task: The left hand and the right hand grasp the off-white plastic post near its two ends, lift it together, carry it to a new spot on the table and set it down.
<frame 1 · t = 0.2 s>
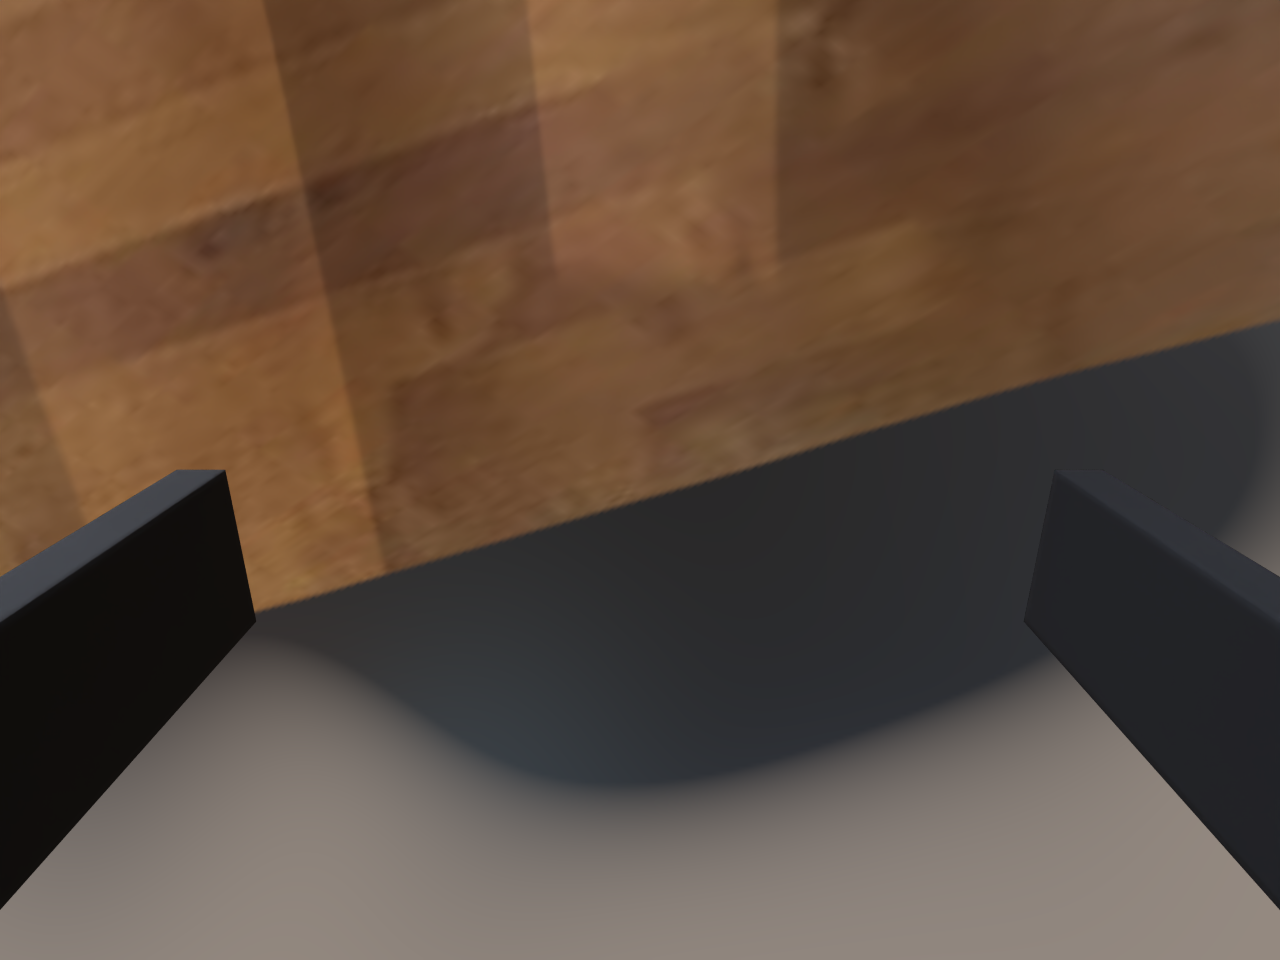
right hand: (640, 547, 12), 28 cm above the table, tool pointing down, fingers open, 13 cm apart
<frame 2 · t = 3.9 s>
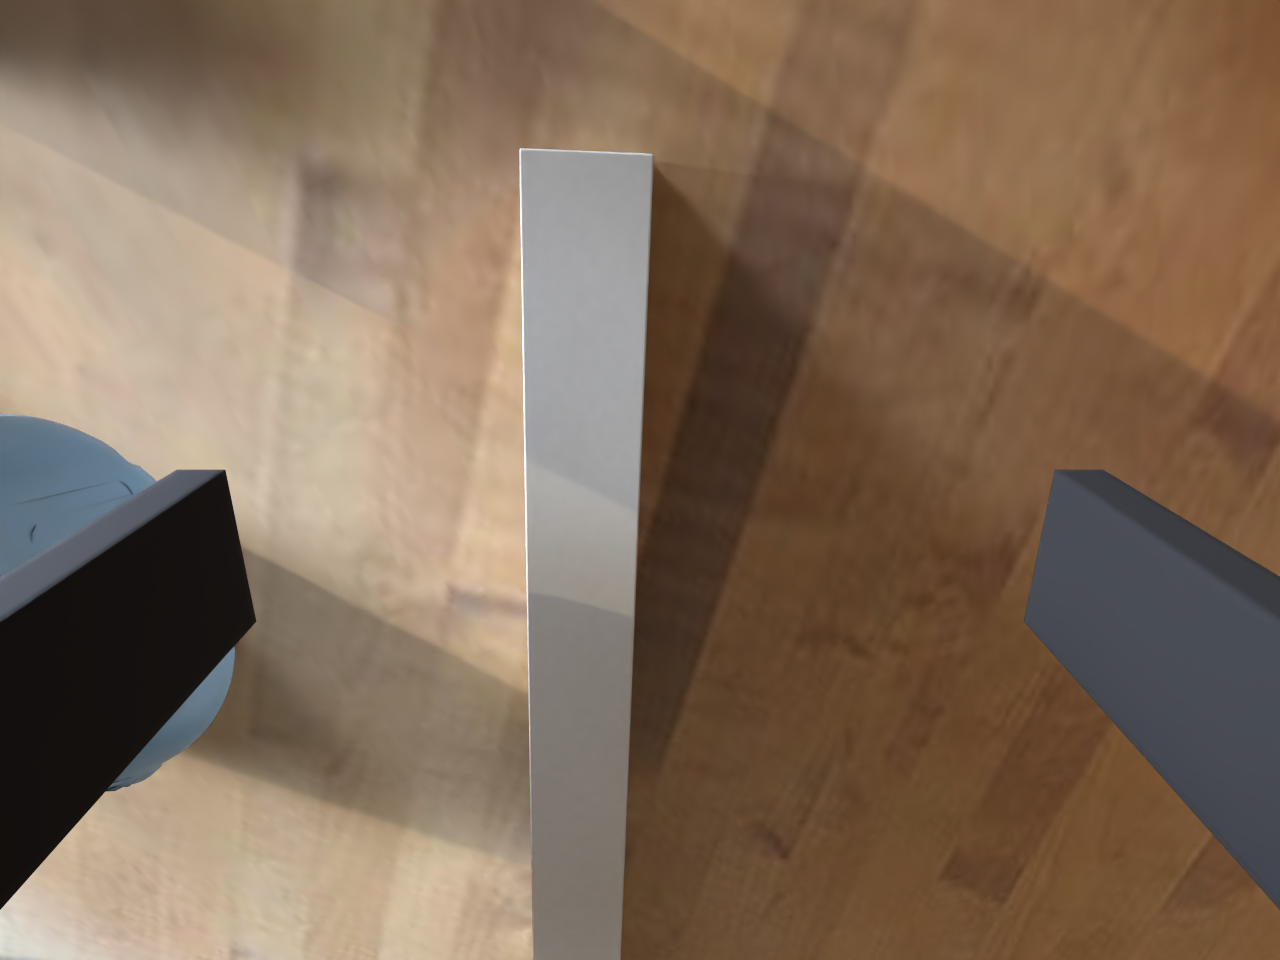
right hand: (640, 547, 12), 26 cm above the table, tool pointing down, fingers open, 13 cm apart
post: (590, 695, 44), on the table
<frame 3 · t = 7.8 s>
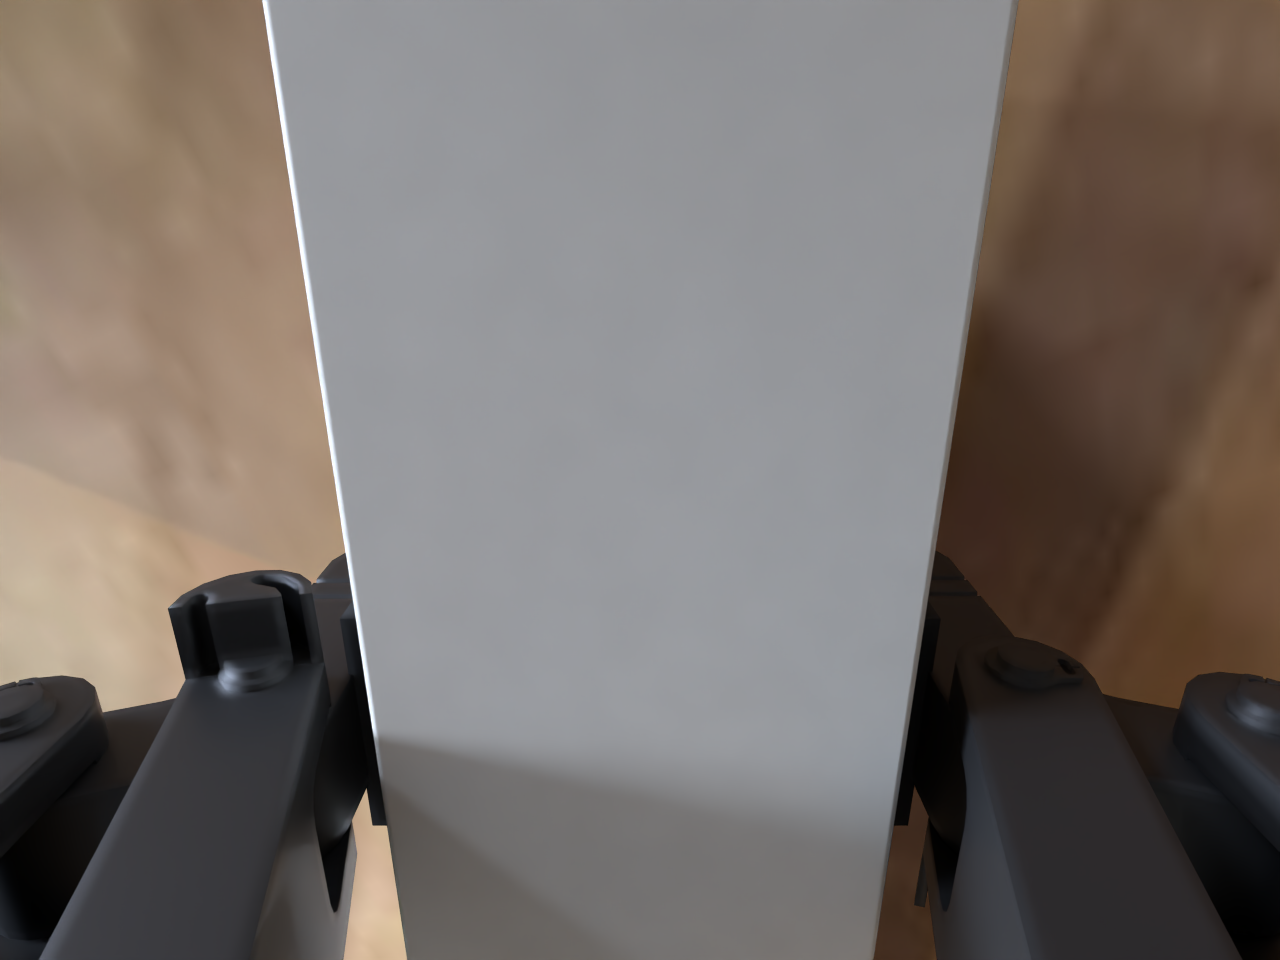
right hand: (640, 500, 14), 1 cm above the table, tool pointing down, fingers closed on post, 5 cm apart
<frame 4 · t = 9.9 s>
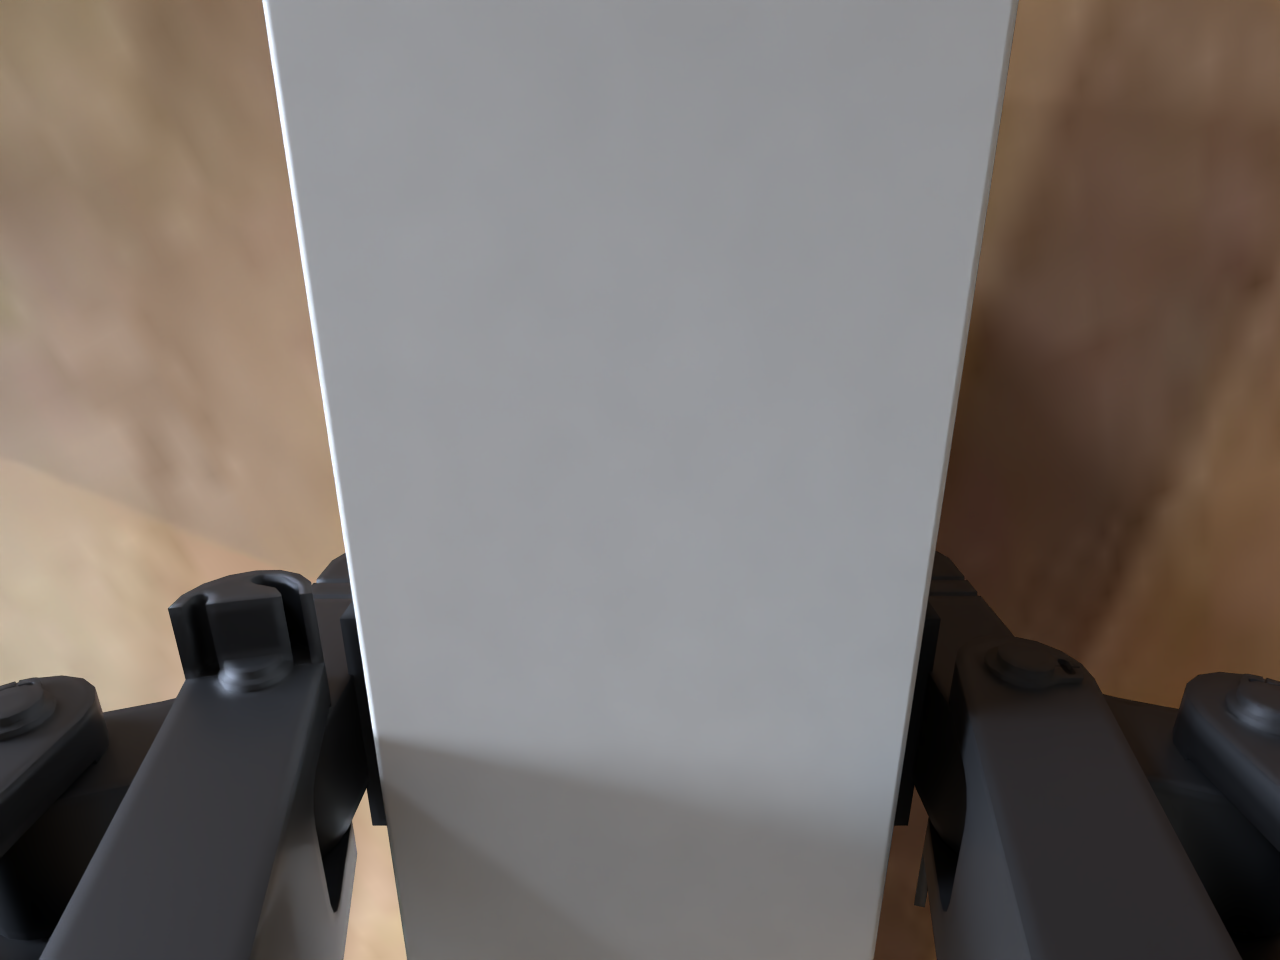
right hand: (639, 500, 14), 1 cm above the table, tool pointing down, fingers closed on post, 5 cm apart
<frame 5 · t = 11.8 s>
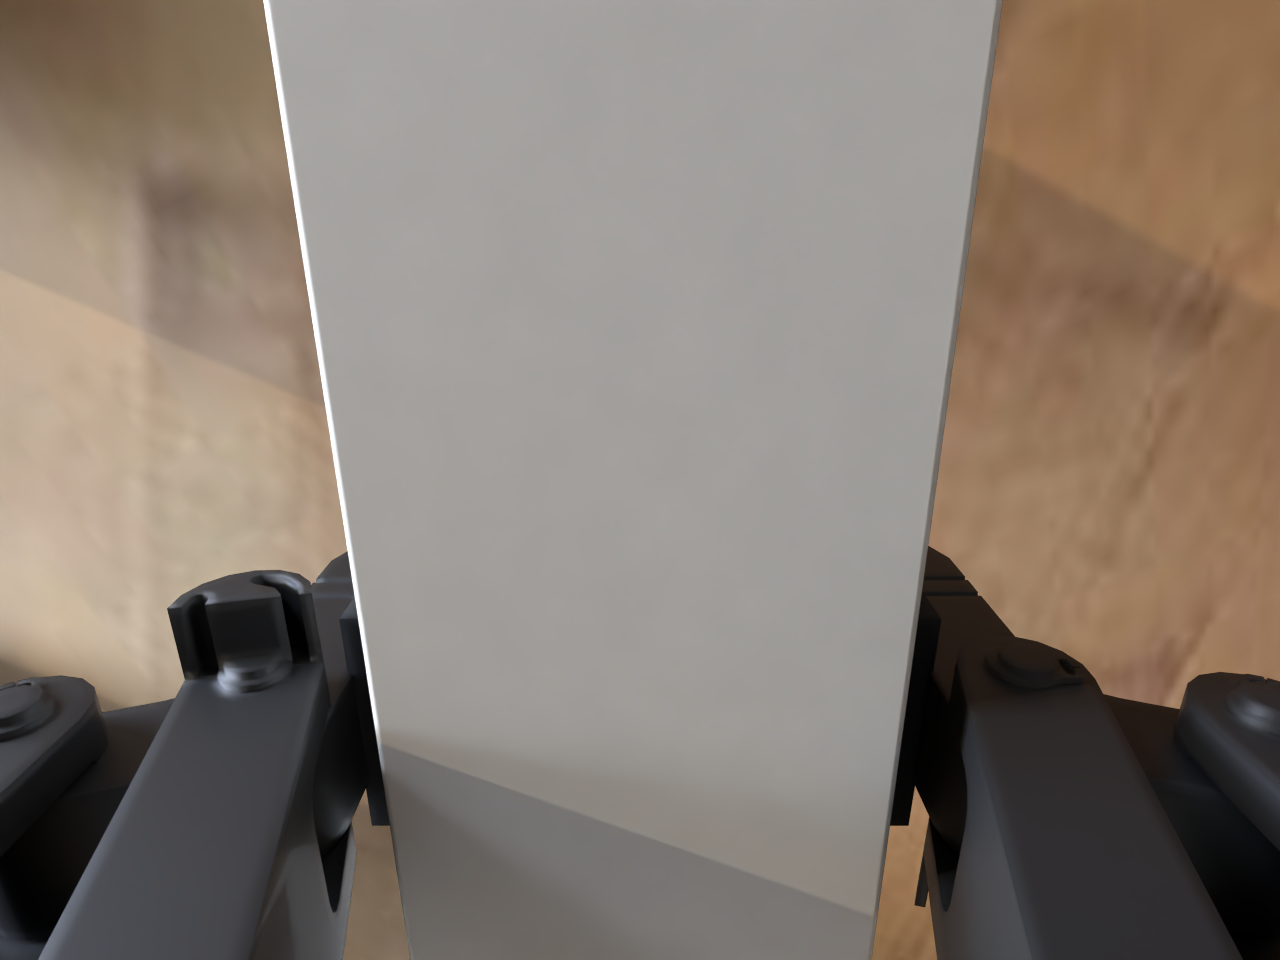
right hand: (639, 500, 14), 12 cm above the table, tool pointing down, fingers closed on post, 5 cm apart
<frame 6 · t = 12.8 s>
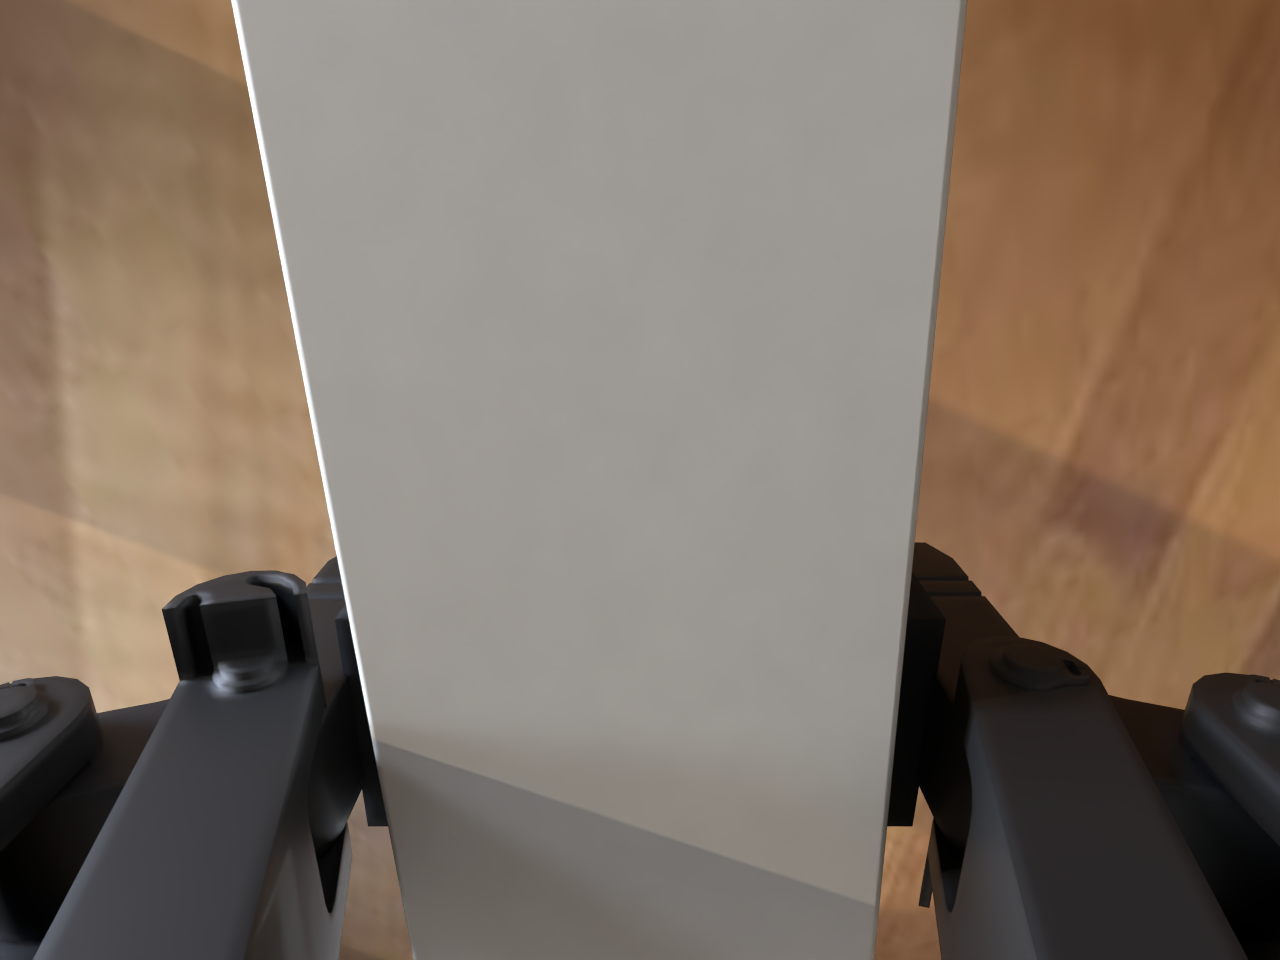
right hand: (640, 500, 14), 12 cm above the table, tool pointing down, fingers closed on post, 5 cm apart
when the left hand's fingers open (2 cm above the table, at t = 15.8 s): post stays where it is, on the table.
when the right hand's fingers open (2 cm above the table, at t = 15.8 s): post stays where it is, on the table.
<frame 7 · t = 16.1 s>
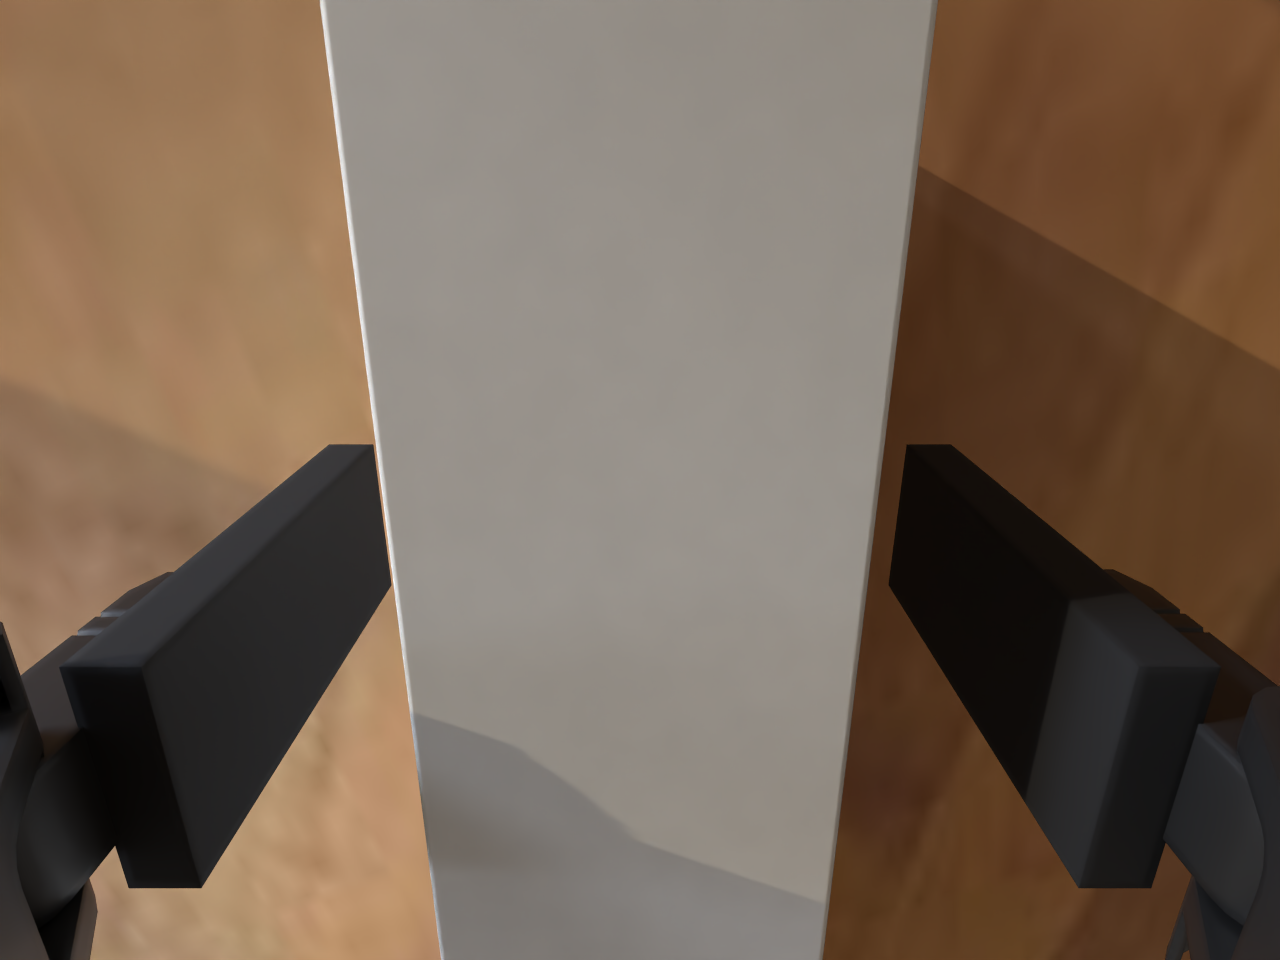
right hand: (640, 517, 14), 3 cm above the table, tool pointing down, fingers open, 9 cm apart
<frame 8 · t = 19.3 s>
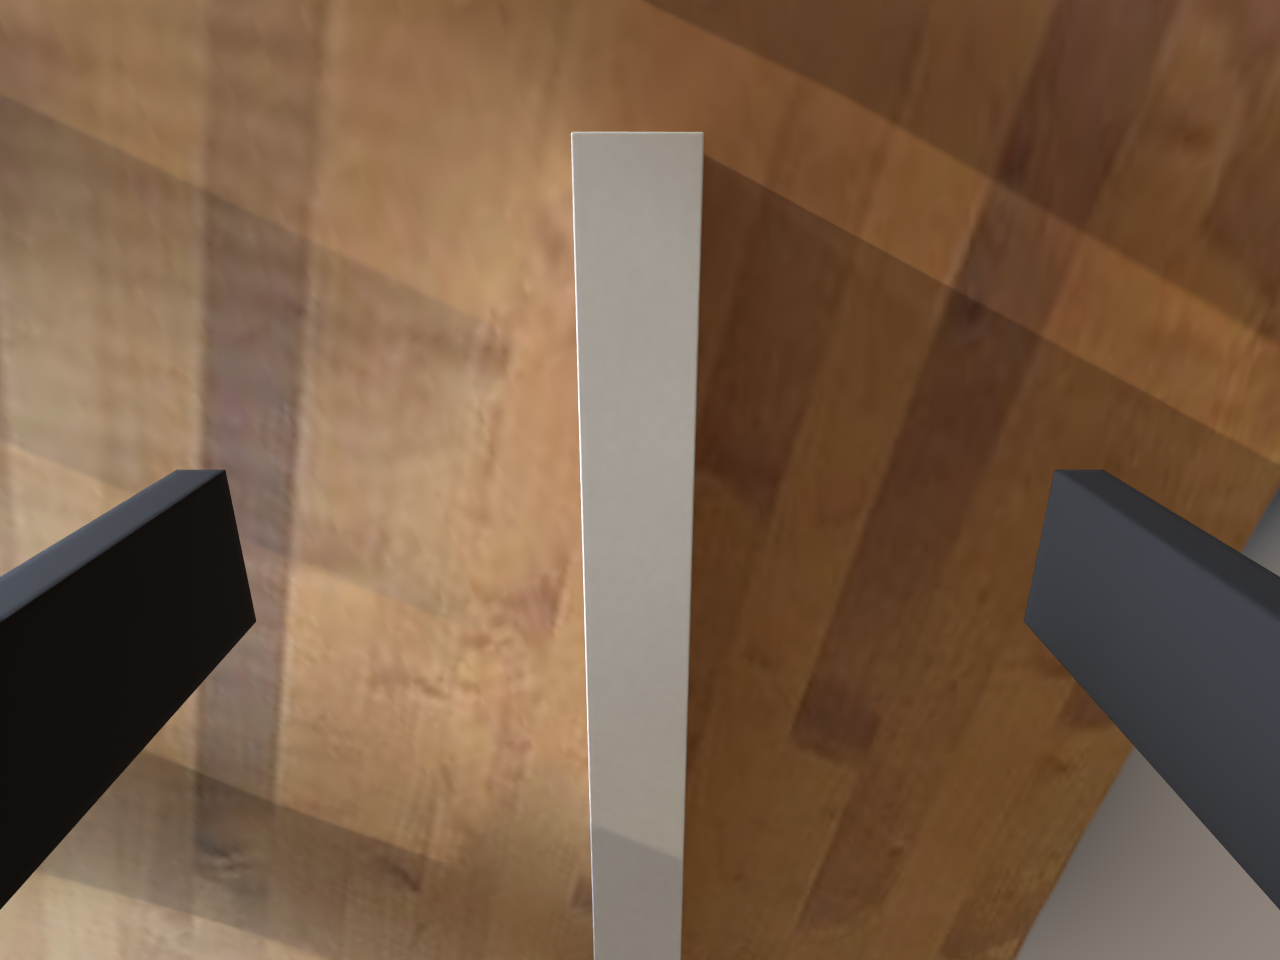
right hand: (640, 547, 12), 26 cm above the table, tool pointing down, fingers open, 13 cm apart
post: (637, 684, 45), on the table
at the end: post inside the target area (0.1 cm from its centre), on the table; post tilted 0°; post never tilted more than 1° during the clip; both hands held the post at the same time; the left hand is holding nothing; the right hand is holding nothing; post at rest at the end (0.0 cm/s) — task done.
